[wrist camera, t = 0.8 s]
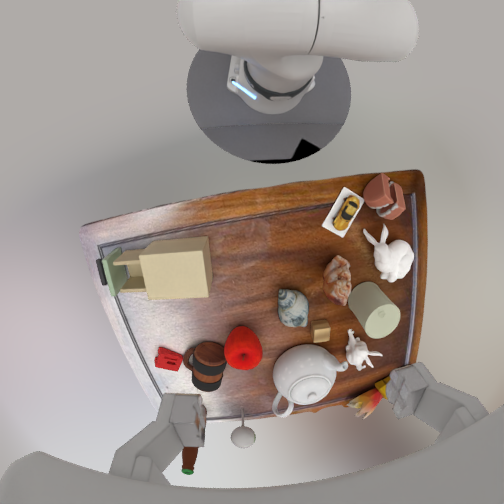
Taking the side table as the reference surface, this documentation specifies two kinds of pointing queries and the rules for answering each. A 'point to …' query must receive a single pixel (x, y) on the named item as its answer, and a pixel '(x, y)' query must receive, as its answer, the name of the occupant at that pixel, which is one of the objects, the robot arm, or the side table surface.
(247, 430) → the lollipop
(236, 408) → the side table surface
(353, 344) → the rabbit figurine
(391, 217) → the dentures
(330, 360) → the teapot
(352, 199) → the toy car
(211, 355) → the mug
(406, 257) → the rabbit
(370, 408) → the torch
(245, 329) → the apple
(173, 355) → the bracket
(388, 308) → the can
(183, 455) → the bottle
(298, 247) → the side table surface
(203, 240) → the cabinet
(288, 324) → the seashell
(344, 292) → the figurine
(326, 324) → the block
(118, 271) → the drawer
